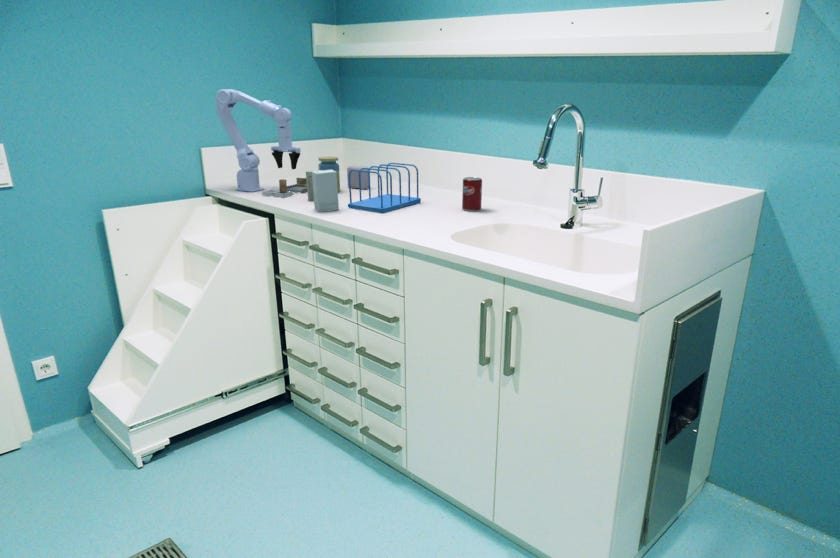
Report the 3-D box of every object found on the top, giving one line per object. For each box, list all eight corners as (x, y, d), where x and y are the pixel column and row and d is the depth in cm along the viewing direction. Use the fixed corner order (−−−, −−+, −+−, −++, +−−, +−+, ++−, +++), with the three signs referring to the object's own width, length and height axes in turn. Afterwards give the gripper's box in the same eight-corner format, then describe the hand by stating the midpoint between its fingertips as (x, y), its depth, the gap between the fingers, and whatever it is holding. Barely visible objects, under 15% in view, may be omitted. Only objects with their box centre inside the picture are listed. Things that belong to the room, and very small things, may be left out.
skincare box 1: (325, 199, 243) (323, 169, 239) (322, 201, 239) (321, 171, 235) (310, 199, 244) (308, 169, 240) (307, 201, 240) (305, 171, 236)
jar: (332, 189, 266) (331, 155, 261) (344, 192, 259) (343, 157, 255) (315, 191, 260) (313, 157, 255) (326, 194, 254) (325, 159, 249)
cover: (296, 185, 267) (296, 177, 266) (308, 182, 275) (308, 175, 274) (312, 186, 264) (312, 179, 262) (324, 183, 271) (324, 176, 270)
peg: (278, 194, 249) (277, 180, 247) (282, 193, 252) (282, 179, 250) (284, 194, 248) (283, 180, 246) (288, 193, 251) (287, 179, 249)
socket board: (261, 195, 251) (261, 191, 251) (271, 193, 257) (271, 189, 256) (283, 198, 246) (283, 194, 246) (293, 195, 252) (293, 191, 251)
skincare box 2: (334, 207, 228) (332, 169, 223) (339, 210, 223) (337, 171, 218) (313, 209, 224) (311, 170, 219) (318, 212, 219) (315, 172, 214)
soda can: (468, 212, 220) (469, 180, 216) (458, 208, 226) (459, 177, 222) (484, 210, 223) (486, 179, 219) (474, 207, 229) (475, 176, 225)
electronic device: (346, 188, 269) (345, 166, 266) (352, 186, 273) (352, 165, 270) (363, 190, 264) (363, 167, 261) (370, 188, 268) (369, 166, 265)
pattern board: (282, 191, 261) (282, 187, 260) (309, 184, 277) (308, 181, 276) (303, 193, 256) (302, 189, 256) (328, 186, 272) (328, 182, 272)
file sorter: (387, 198, 247) (387, 161, 242) (421, 203, 237) (421, 164, 232) (347, 208, 228) (346, 168, 223) (382, 213, 218) (381, 172, 213)
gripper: (265, 137, 254) (268, 168, 259) (292, 138, 248) (294, 170, 252) (276, 135, 260) (278, 166, 264) (302, 137, 254) (304, 168, 258)
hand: (287, 168), depth 259 cm, fingers open, 7 cm apart
